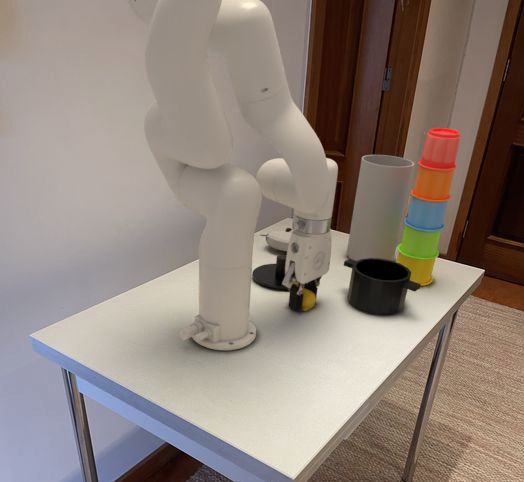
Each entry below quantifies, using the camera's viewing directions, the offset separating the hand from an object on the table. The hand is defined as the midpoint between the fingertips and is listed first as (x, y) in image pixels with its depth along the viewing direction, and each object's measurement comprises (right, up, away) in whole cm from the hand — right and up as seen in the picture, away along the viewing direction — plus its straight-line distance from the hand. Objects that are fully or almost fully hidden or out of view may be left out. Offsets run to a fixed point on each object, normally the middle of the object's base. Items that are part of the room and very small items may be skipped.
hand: (302, 304), depth 114 cm
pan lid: (-4, +8, +11) cm, 14 cm away
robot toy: (-1, +18, +29) cm, 34 cm away
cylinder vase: (+20, +15, +27) cm, 36 cm away
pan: (+17, +1, +4) cm, 17 cm away
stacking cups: (+28, +8, +17) cm, 34 cm away
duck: (0, 0, 0) cm, 0 cm away
